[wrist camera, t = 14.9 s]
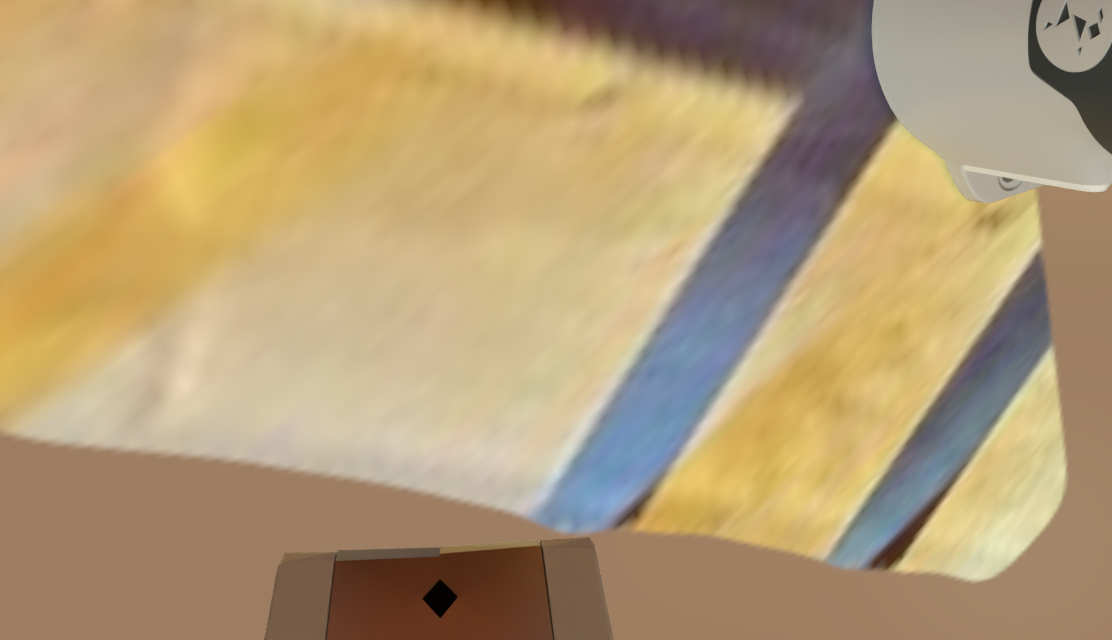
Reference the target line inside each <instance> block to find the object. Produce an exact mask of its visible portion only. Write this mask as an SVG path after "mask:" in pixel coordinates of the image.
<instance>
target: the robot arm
mask: <svg viewBox="0 0 1112 640" xmlns="http://www.w3.org/2000/svg"><path fill="white" fill-rule="evenodd" d="M872 46H873V55H874V62H875V67H876V71H877V75H878V79H879V82H880V85H881V88H882V90H883V93H884V95H885V97H886V99H887V102H888V104H889V105H890V107H891V109H892V111H893V112H894V114H895V115H896V117H897V118H898V120H899V121H900V122H901V123H902V125H903V126H904V127H905V128H906V129H907V130H908V131H909V132H910V133H911V134H912V135H913V136H914V137H915V138H917V139H918V140H919V141H921V142H922V143H923V144H925V145H926V146H927V147H929V148H930V149H932V150H933V151H934V152H935V153H936V154H938V155H939V156H940V157H941V158H942V160H943V161H944V162H945V164H946V166H947V169H948V171H949V173H950V175H951V177H952V179H953V181H954V183H955V185H956V186H957V188H958V190H959V191H960V193H961V194H962V195H963V196H964V197H965V198H966V199H968V200H970V201H975V202H982V203H991V202H995V201H998V200H1001V199H1004V198H1007V197H1010V196H1013V195H1016V194H1019V193H1022V192H1025V191H1028V190H1031V189H1034V188H1037V187H1040V186H1043V185H1051V186H1057V187H1062V188H1068V189H1074V190H1080V191H1087V192H1102V191H1105V190H1106V189H1107V188H1108V187H1109V185H1110V184H1112V0H874V4H873V14H872ZM1002 177H1003V178H1002ZM264 640H613V635H612V630H611V625H610V620H609V615H608V610H607V605H606V601H605V595H604V590H603V586H602V581H601V575H600V570H599V566H598V561H597V556H596V551H595V546H594V544H593V542H592V541H591V540H590V538H589V537H587V538H570V539H555V540H541V541H540V543H539V542H538V541H521V542H505V543H489V544H473V545H457V546H441V547H440V548H406V549H371V550H338V551H335V552H301V553H300V552H298V553H284V555H283V557H282V559H281V561H280V563H279V565H278V568H277V574H276V579H275V585H274V590H273V595H272V601H271V606H270V612H269V617H268V623H267V628H266V634H265V639H264Z"/></svg>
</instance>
